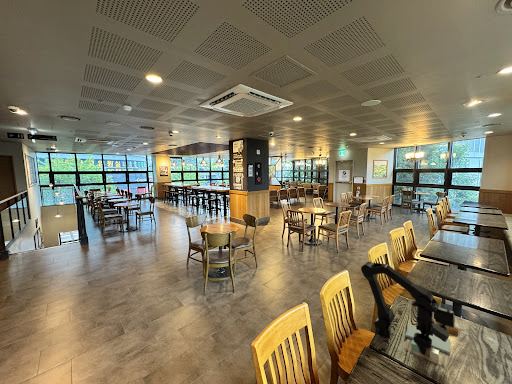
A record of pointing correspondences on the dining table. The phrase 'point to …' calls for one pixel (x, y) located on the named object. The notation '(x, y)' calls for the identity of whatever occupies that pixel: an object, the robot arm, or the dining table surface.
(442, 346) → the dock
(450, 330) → the pastry
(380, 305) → the robot arm
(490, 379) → the dining table surface
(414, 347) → the block
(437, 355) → the block
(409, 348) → the tray
